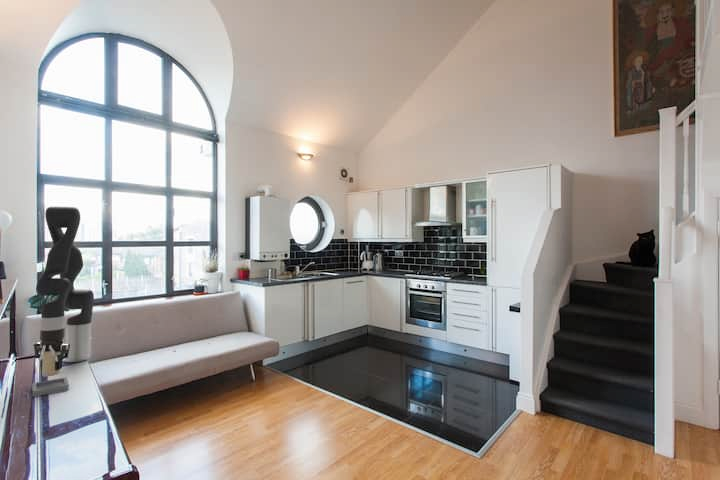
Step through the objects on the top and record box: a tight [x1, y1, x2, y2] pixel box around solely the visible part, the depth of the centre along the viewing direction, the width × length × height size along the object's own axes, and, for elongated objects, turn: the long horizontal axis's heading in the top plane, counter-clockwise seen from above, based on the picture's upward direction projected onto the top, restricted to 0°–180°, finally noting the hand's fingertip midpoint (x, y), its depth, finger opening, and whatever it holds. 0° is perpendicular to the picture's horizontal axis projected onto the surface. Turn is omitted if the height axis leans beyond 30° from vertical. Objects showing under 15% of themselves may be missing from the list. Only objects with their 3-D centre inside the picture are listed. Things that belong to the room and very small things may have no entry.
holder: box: [31, 376, 70, 398], centre depth 135 cm, size 10×10×2 cm
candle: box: [41, 351, 61, 377], centre depth 144 cm, size 6×6×10 cm
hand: (51, 369), depth 144 cm, fingers closed on candle, 5 cm apart
